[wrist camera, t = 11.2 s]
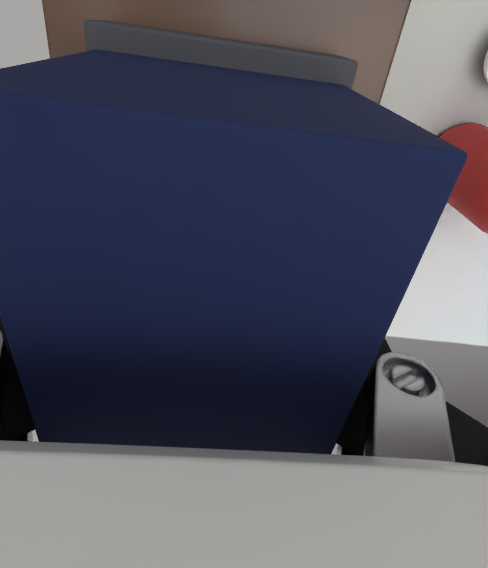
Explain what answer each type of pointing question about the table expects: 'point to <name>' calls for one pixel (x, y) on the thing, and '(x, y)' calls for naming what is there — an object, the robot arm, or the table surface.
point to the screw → (486, 66)
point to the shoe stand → (253, 27)
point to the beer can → (471, 173)
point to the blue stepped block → (204, 238)
